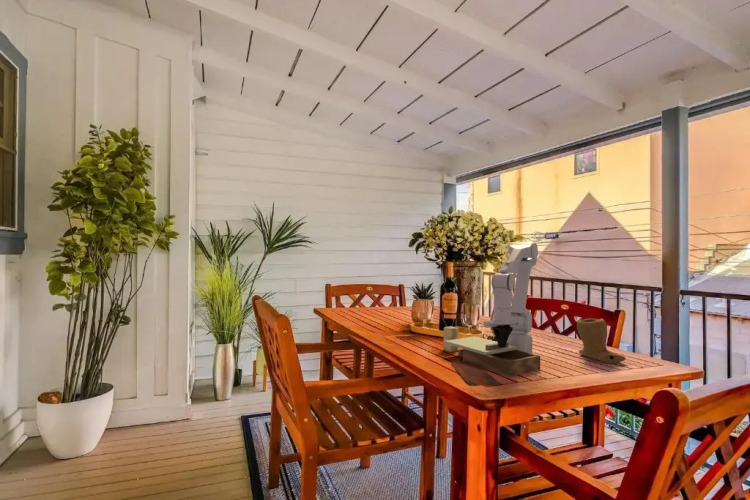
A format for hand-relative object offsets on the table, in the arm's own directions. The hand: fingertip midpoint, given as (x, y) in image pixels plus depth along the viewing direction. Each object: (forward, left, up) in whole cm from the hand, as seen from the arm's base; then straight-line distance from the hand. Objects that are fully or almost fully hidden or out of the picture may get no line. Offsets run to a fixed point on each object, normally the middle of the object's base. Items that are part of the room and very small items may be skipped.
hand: (501, 347), depth 141 cm
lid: (0, -10, -2) cm, 10 cm away
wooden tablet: (+15, 0, -7) cm, 16 cm away
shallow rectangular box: (0, -4, -6) cm, 8 cm away
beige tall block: (0, -25, -6) cm, 26 cm away
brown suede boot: (-38, +12, -7) cm, 41 cm away
